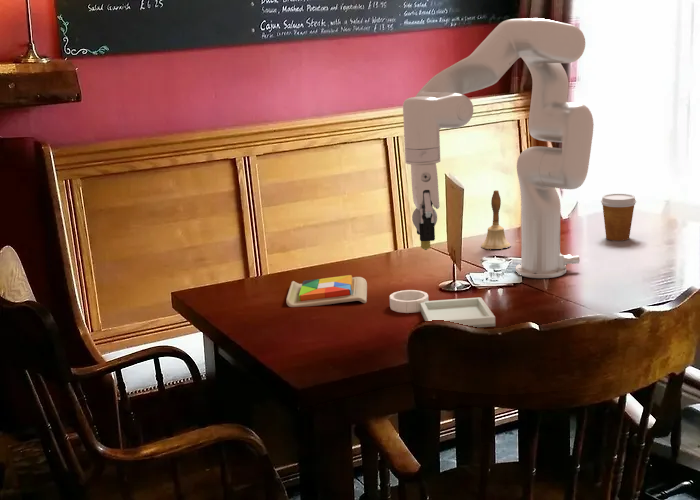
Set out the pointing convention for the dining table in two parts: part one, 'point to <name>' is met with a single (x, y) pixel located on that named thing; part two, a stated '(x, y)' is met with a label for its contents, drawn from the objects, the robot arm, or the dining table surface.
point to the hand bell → (495, 227)
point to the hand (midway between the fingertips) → (425, 236)
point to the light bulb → (416, 221)
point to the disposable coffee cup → (618, 215)
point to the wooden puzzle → (327, 291)
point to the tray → (459, 311)
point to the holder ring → (407, 300)
